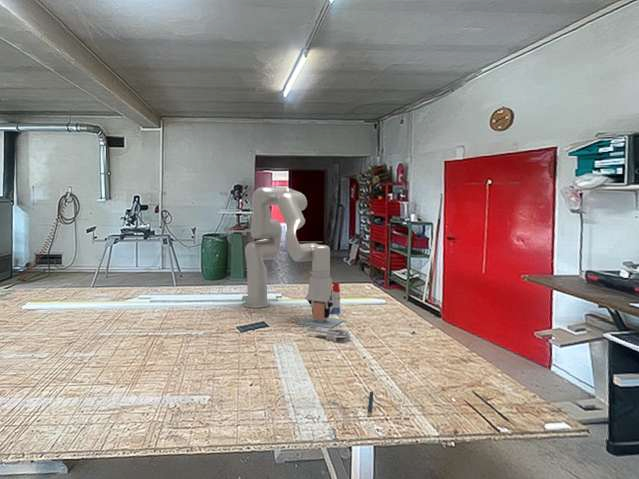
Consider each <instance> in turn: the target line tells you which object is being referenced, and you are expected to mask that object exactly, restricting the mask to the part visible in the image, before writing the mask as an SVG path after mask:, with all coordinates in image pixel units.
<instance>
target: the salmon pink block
mask: <svg viewBox="0 0 639 479" xmlns="http://www.w3.org/2000/svg"><path fill="white" fill-rule="evenodd" d="M325 308H326V307H325V303H324V302H318V301H315V302H313V315H311V316H312V319H317V320H325V319H327V318H330V316H329V317H327V318H325Z"/></svg>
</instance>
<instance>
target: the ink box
mask: <svg viewBox="0 0 639 479" xmlns="http://www.w3.org/2000/svg"><path fill="white" fill-rule="evenodd" d="M332 286H333V295H334V297H335V298H336V300H337V302H336V303H334V304H333V305H332V306H331V307H330V315H333V314H335V315H336V314H337V315H339V314H340V312H341V287H340V282H339V281H337V282H335V281H332ZM331 302H332V300H330V303H331Z"/></svg>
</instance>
